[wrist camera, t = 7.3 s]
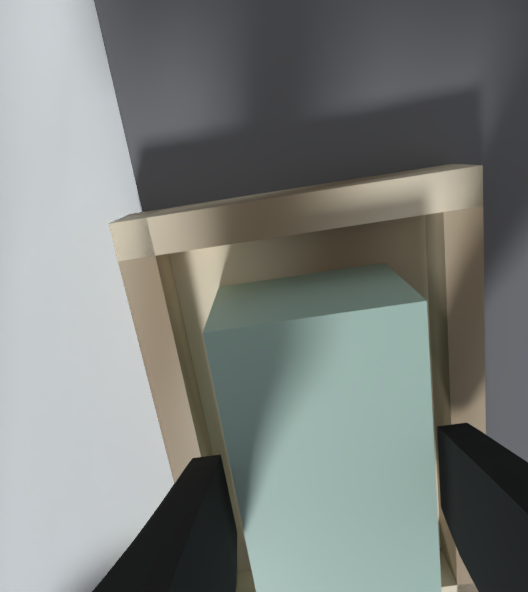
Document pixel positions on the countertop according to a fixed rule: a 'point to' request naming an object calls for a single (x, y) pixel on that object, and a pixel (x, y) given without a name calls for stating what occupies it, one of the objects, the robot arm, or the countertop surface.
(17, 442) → the countertop surface
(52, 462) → the countertop surface
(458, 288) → the tray
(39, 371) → the countertop surface
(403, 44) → the mat
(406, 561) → the block
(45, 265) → the countertop surface
